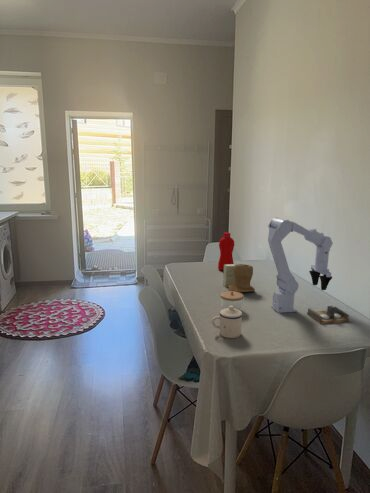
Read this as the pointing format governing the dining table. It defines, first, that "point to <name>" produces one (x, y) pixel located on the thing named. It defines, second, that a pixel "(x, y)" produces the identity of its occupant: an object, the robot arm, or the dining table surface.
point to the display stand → (319, 319)
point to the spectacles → (331, 313)
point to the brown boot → (242, 278)
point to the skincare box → (228, 275)
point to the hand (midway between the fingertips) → (319, 287)
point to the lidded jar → (231, 299)
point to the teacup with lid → (229, 322)
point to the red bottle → (225, 251)
